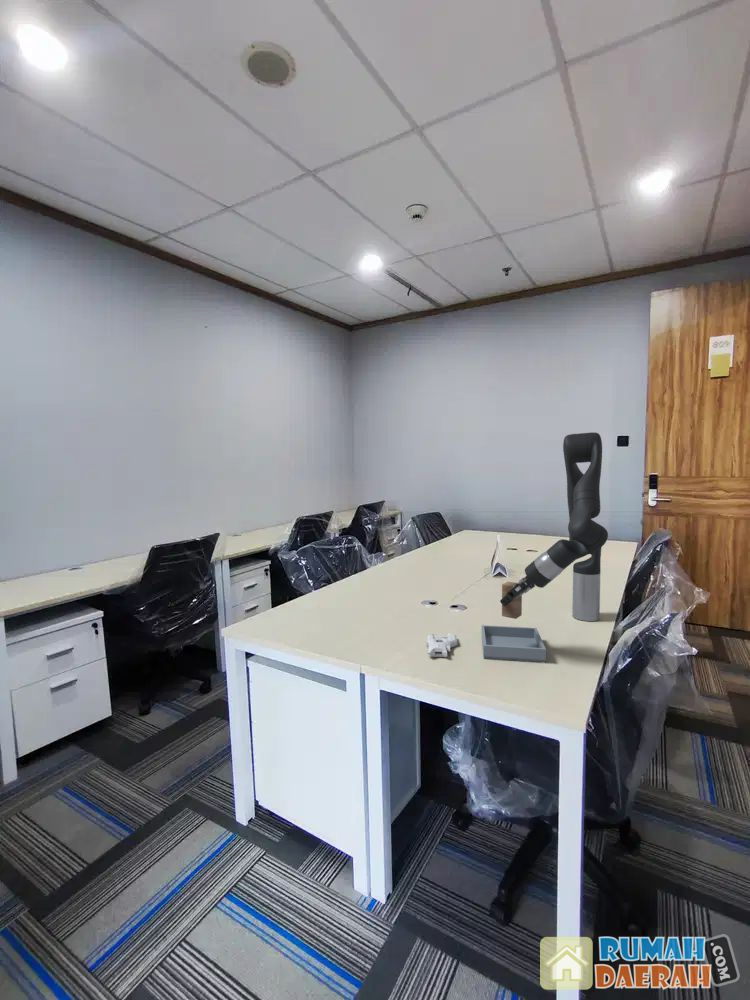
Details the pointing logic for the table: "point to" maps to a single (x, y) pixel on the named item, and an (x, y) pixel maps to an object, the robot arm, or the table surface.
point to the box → (512, 644)
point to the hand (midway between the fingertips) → (505, 601)
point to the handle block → (515, 605)
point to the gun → (440, 644)
